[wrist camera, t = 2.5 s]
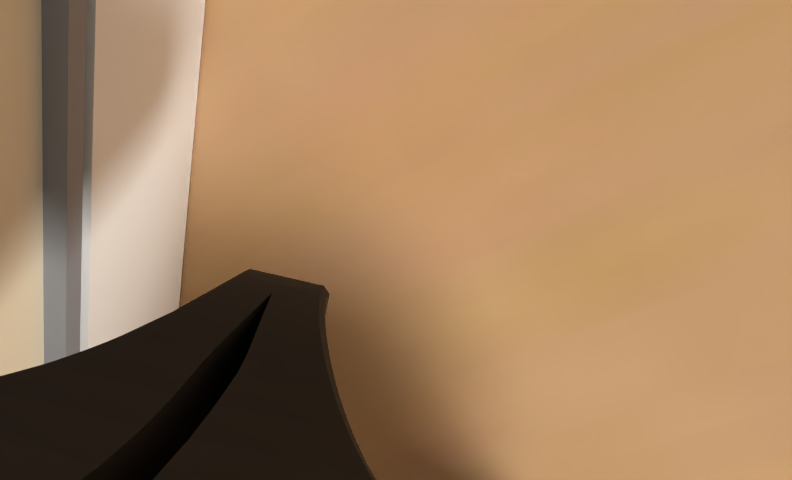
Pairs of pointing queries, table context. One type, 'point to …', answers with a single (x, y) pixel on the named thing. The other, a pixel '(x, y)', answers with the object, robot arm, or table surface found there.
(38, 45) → the lid
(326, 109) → the table surface
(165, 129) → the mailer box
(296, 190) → the table surface
